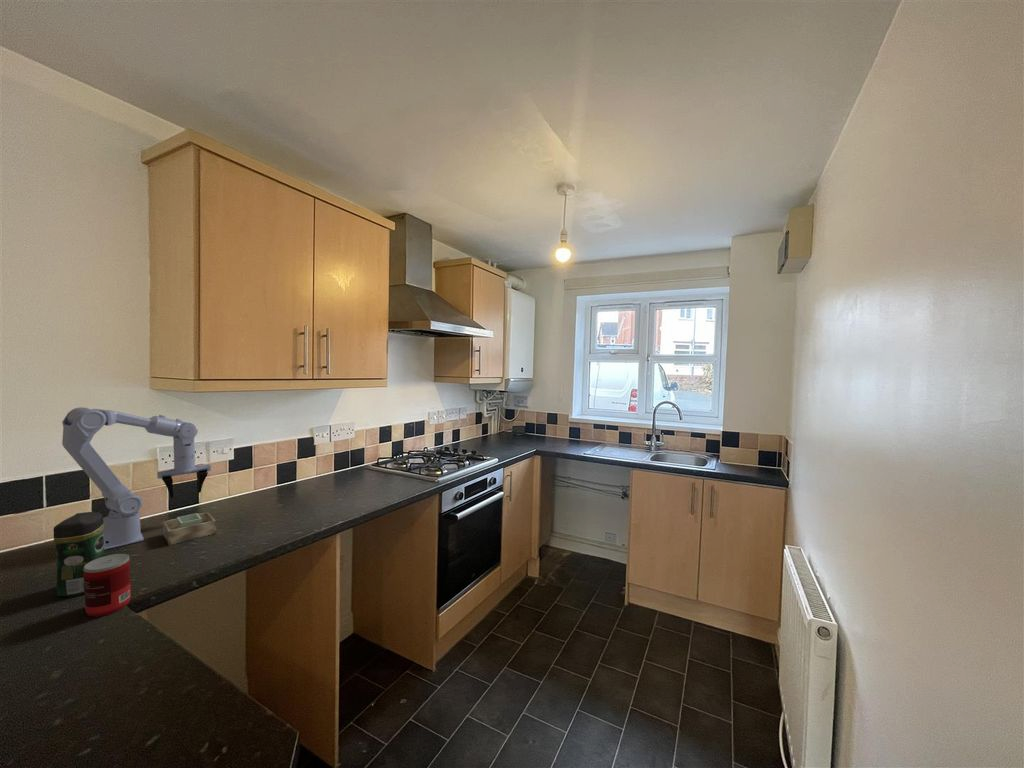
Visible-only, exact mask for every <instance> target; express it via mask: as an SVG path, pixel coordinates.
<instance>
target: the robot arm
mask: <svg viewBox="0 0 1024 768" xmlns="http://www.w3.org/2000/svg"><path fill="white" fill-rule="evenodd" d="M61 422H62V423H61V424H62V428H63V429H62V439H61V440H62V441H61V445H62V447H63V448H64V449H65V450H66V452H67V453H68V454H69V455H70V457H71V458H72V459H73V460H74V461H75V462H76V464H78V466H79V467H80V468H81V469H82V470H83V472H84V473H85V474H86V475H87V476H88V478H89V479H90V480H91V481H92V482H93V483H94V485H95V486H96V487H97V488H98V489H99V490H100V492H101V495H102V497H103V498H104V504H105V507H106V509H108V510H110V511H109V512H108V514H107V516H105V517H103V521H104V531H103V538H104V551H105V550H109V549H113V548H117V547H122V546H126V545H130V544H134V543H139V542H143V541H144V539H145V538H144V536H143V533H142V532H141V508H142V506H143V503H144V502H143V498H142V496H140V495H138V494H135V493H134V492H132V491H131V489H129V488H128V487H127V486H126V485H125V484H123V483H122V482H121V481H120V479H119V478H118V477H117V475H116V474H115V473H114V471H113V470H112V469H111V468H110V467H109V465H108V464H107V462H105V460H104V459H103V458H102V456H101V455H100V454H99V453H98V452H97V451H96V450H95V448H94V447H93V446H92V444H91V441H92V439H93V437H94V436H95V434H97V432H99V431H100V430H101V429H102V428H103V427H104V426H107V427H108V426H113V425H114V424H121V425H127V426H133V427H139V428H140V427H141V428H144V429H145V430H146V432H147V433H149V434H154V435H158V436H164V437H165V436H166V437H171V438H173V468H171V469H167V470H162V471H157V472H156V473H157V474H156V475H157V477H156V478H157V479H161V480H162V481H163V483H164V485H165V486H166V489H167V491H168V494H169V497H170V499H172V498H174V489H173V485H174V482H173V481H174V480H173V477H175V476H182V475H188V474H189V475H190V474H194V473H196V480H197V481H196V482H197V488H196V489H197V490H196V491H197V493H198V494H200V493H202V488H203V485H204V482H205V480H206V478H207V477H208V475H209V473H208V472H210V471H212V469H211V467H212V466H211V465H210V464H203V465H201V464H200V465H196V457H195V456H196V455H195V454H196V453H195V450H196V449H195V437H196V436H197V434H198V433H199V432H198V431H199V429H197V427H196V425H194V423H191V422H188V421H182V420H181V419H179V418H176V419H173V418H167V417H166V415H163V414H159V415H154V416H152V417H147V418H146V417H144V416H139V415H133V414H130V413H125V412H121V411H116V410H111V409H100V408H88V407H76V408H73V409H71V410H69V411H68V412H67V414H66V415H65V417H64V418H63V420H62V421H61Z"/></svg>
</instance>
